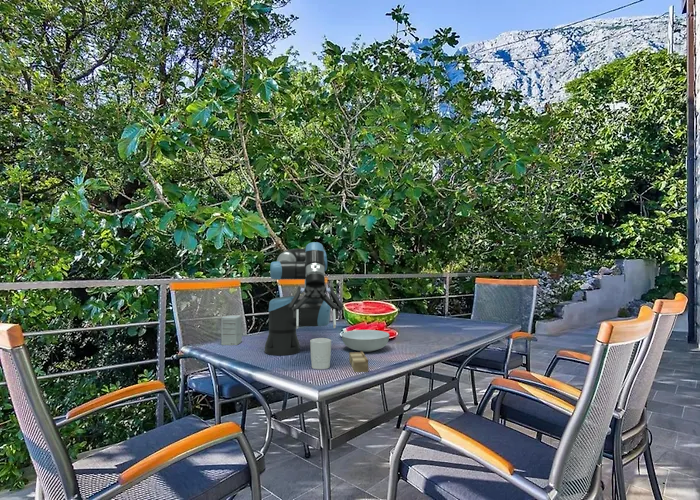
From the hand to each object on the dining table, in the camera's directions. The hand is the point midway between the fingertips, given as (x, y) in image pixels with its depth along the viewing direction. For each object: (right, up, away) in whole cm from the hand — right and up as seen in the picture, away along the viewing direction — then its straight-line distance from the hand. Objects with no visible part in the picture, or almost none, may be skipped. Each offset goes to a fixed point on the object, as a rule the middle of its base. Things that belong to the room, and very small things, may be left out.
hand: (316, 327), depth 157 cm
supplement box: (-43, -16, +42) cm, 62 cm away
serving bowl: (+19, -16, +31) cm, 40 cm away
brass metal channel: (+15, -15, +3) cm, 22 cm away
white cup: (+1, -15, +2) cm, 16 cm away
